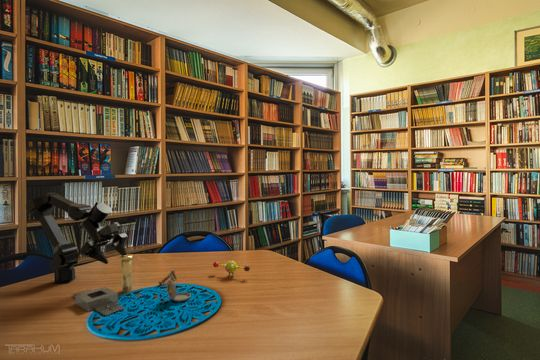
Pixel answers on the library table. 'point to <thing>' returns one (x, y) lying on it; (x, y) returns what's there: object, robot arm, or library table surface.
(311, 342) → the library table surface
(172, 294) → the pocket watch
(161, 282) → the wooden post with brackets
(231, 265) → the toy figure
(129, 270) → the pin
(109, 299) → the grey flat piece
